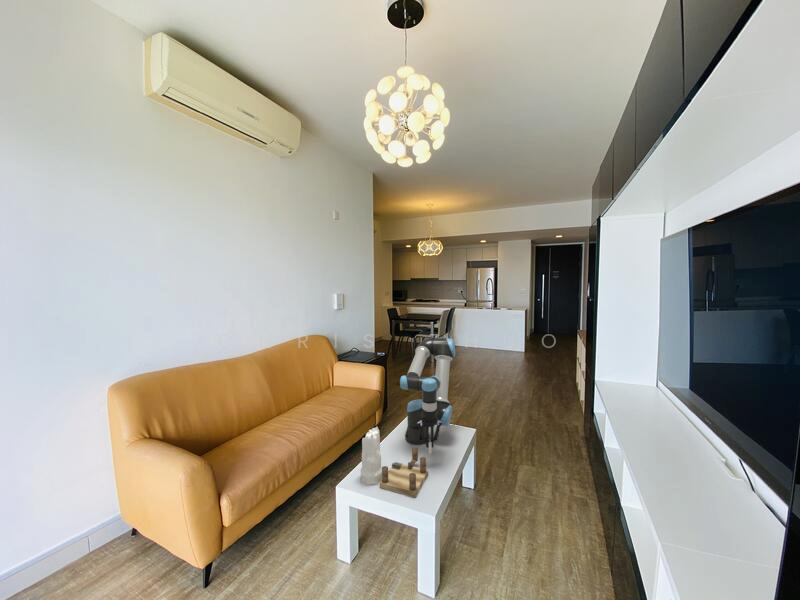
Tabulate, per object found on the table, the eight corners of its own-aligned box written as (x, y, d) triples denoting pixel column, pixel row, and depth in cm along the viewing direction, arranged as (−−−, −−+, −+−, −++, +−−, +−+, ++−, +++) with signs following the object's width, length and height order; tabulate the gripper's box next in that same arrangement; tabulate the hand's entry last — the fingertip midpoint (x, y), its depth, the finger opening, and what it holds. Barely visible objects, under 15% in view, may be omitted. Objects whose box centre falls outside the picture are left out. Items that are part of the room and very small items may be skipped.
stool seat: (395, 466, 165) (395, 450, 164) (428, 474, 157) (428, 457, 157) (379, 487, 148) (379, 469, 148) (415, 497, 141) (415, 478, 140)
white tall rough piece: (362, 486, 149) (361, 435, 148) (359, 473, 159) (358, 425, 158) (384, 482, 152) (383, 432, 151) (380, 469, 162) (379, 422, 161)
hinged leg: (413, 458, 167) (413, 447, 167) (418, 459, 166) (418, 448, 166) (406, 467, 159) (406, 456, 158) (412, 469, 158) (411, 457, 157)
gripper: (440, 406, 168) (441, 449, 169) (416, 406, 168) (416, 449, 169) (443, 411, 160) (443, 456, 162) (417, 412, 160) (418, 457, 161)
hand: (429, 453), depth 165 cm, fingers closed
